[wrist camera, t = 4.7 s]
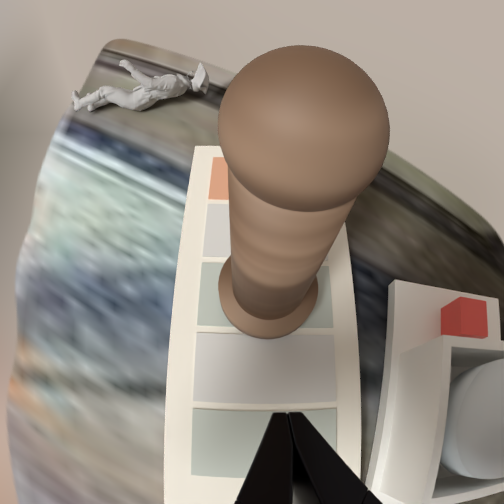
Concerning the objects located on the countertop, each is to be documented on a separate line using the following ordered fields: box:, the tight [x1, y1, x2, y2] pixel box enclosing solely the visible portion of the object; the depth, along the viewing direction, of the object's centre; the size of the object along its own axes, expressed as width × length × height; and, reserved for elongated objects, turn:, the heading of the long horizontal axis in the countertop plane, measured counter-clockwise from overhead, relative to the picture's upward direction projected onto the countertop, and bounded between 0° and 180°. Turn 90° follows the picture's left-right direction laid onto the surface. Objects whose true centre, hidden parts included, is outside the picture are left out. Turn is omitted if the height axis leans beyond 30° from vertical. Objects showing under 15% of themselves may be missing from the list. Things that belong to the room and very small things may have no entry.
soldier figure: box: [72, 60, 209, 112], centre depth 24 cm, size 8×5×12 cm
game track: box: [164, 146, 361, 504], centre depth 18 cm, size 23×10×1 cm, turn 179°
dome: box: [440, 358, 504, 479], centre depth 10 cm, size 6×6×6 cm
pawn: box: [218, 45, 390, 339], centre depth 11 cm, size 5×5×13 cm
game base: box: [365, 280, 504, 504], centre depth 13 cm, size 14×9×6 cm, turn 169°
